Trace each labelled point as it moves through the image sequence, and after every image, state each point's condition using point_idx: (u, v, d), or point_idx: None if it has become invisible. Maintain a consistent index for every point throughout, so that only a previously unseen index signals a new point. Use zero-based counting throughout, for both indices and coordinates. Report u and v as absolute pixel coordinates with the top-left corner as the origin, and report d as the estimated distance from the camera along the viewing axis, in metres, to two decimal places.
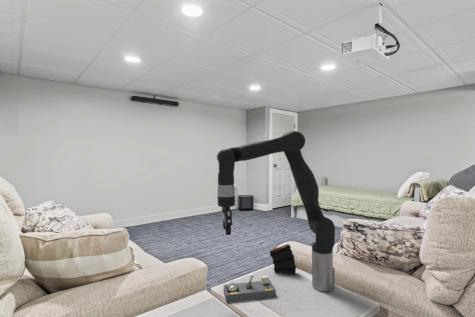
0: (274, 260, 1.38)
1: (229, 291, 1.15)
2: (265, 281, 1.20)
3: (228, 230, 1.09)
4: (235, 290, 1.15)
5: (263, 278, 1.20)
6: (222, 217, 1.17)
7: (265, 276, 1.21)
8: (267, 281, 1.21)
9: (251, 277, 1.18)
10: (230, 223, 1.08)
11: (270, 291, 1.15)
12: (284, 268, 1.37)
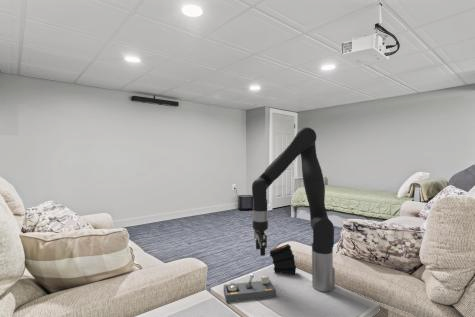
0: (274, 260, 1.38)
1: (229, 291, 1.15)
2: (265, 281, 1.20)
3: (263, 251, 1.23)
4: (235, 290, 1.15)
5: (263, 278, 1.20)
6: (255, 238, 1.31)
7: (265, 276, 1.21)
8: (267, 281, 1.21)
9: (251, 277, 1.18)
10: (265, 245, 1.22)
11: (270, 291, 1.15)
12: (284, 268, 1.37)
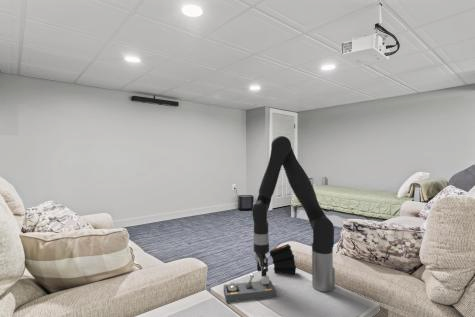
0: (274, 260, 1.38)
1: (229, 291, 1.15)
2: (265, 282, 1.20)
3: (264, 275, 1.22)
4: (235, 290, 1.15)
5: (263, 279, 1.20)
6: (257, 260, 1.30)
7: (265, 277, 1.21)
8: (267, 282, 1.20)
9: (251, 277, 1.18)
10: (266, 269, 1.21)
11: (270, 291, 1.15)
12: (284, 268, 1.37)
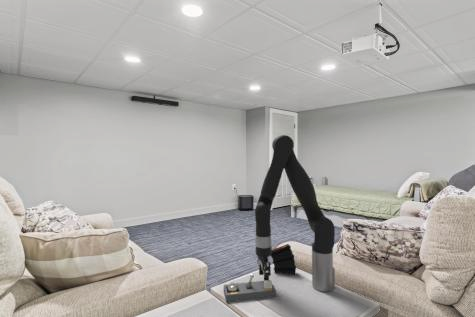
0: (274, 260, 1.38)
1: (229, 291, 1.15)
2: (268, 286, 1.16)
3: (266, 279, 1.18)
4: (235, 290, 1.15)
5: (266, 283, 1.16)
6: (259, 264, 1.26)
7: (268, 281, 1.17)
8: (270, 286, 1.16)
9: (251, 277, 1.18)
10: (269, 273, 1.17)
11: (270, 291, 1.15)
12: (284, 268, 1.37)
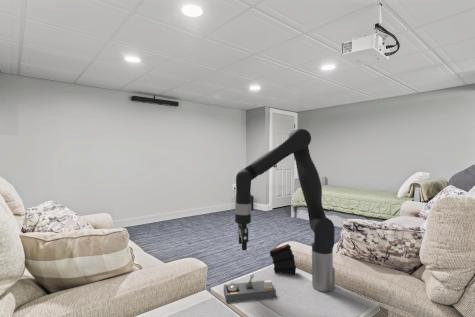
0: (274, 260, 1.38)
1: (229, 291, 1.15)
2: (268, 286, 1.16)
3: (244, 246, 1.18)
4: (235, 290, 1.15)
5: (266, 283, 1.16)
6: (238, 233, 1.26)
7: (268, 281, 1.17)
8: (270, 286, 1.16)
9: (251, 277, 1.18)
10: (246, 240, 1.17)
11: (270, 291, 1.15)
12: (284, 268, 1.37)
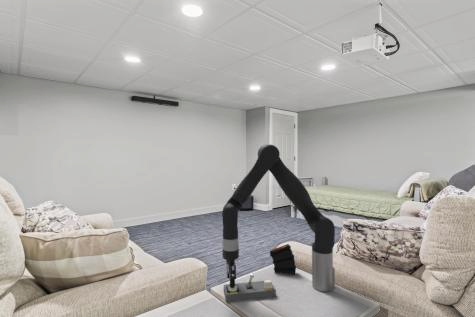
0: (274, 260, 1.38)
1: (229, 292, 1.15)
2: (268, 286, 1.16)
3: (232, 283, 1.16)
4: (235, 291, 1.15)
5: (266, 283, 1.16)
6: (226, 267, 1.24)
7: (268, 281, 1.17)
8: (270, 286, 1.16)
9: (251, 277, 1.18)
10: (234, 277, 1.14)
11: (270, 291, 1.15)
12: (284, 268, 1.37)
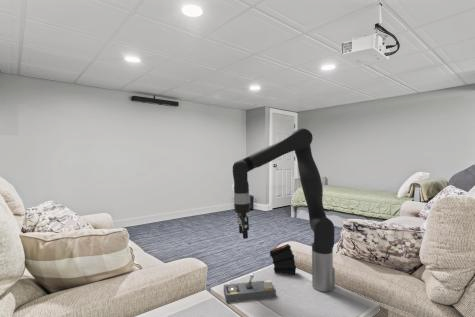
0: (274, 260, 1.38)
1: None
2: (268, 286, 1.16)
3: (245, 234, 1.21)
4: None
5: (266, 283, 1.16)
6: (238, 222, 1.29)
7: (268, 281, 1.17)
8: (270, 286, 1.16)
9: (251, 277, 1.18)
10: (247, 228, 1.19)
11: (270, 291, 1.15)
12: (284, 268, 1.37)
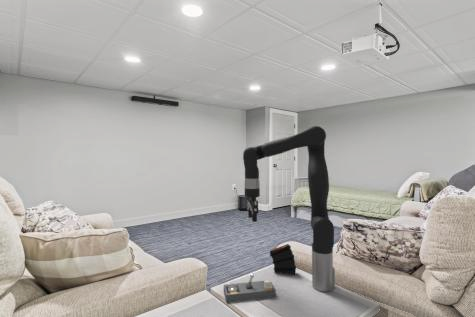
0: (274, 260, 1.38)
1: None
2: (268, 286, 1.16)
3: (254, 217, 1.26)
4: None
5: (266, 283, 1.16)
6: (248, 207, 1.34)
7: (268, 281, 1.17)
8: (270, 286, 1.16)
9: (251, 277, 1.18)
10: (257, 211, 1.24)
11: (270, 291, 1.15)
12: (284, 268, 1.37)
